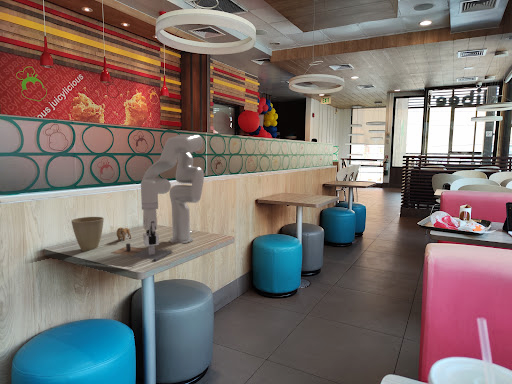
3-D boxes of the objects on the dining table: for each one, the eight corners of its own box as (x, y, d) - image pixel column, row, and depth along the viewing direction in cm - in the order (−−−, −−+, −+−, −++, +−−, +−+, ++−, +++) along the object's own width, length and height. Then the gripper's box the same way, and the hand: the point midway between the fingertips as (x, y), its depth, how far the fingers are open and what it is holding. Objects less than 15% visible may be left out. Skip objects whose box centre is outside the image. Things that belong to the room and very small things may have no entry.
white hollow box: (143, 243, 168) (143, 233, 168) (156, 241, 171) (155, 232, 170) (146, 246, 163) (145, 235, 162) (158, 244, 166) (158, 234, 165)
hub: (147, 250, 176) (147, 240, 176) (172, 252, 172) (171, 243, 172) (130, 258, 163) (129, 248, 163) (156, 261, 159) (155, 250, 158)
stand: (126, 248, 180) (125, 240, 180) (146, 250, 177) (145, 241, 176) (110, 255, 169) (109, 246, 168) (131, 257, 165) (130, 248, 165)
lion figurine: (125, 244, 188) (124, 228, 187) (115, 244, 188) (114, 228, 187) (132, 237, 203) (131, 222, 202) (123, 237, 202) (122, 222, 201)
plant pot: (110, 249, 179) (108, 219, 177) (79, 255, 168) (77, 223, 166) (98, 244, 189) (96, 215, 187) (68, 249, 178) (66, 219, 176)
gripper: (138, 204, 171) (140, 239, 173) (145, 209, 156) (146, 248, 158) (154, 203, 174) (155, 238, 176) (162, 207, 159) (163, 246, 161)
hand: (151, 242), depth 167 cm, fingers closed on white hollow box, 6 cm apart
